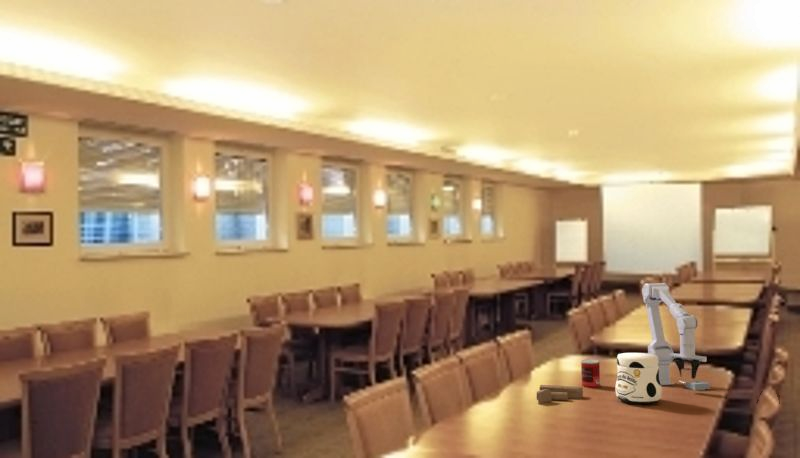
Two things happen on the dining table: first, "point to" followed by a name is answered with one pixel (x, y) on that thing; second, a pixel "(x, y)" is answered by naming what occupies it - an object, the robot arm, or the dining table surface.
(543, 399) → the wooden block set
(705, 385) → the base brick
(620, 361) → the milk container
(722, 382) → the dining table surface
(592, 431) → the dining table surface
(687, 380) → the top brick
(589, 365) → the canned food
